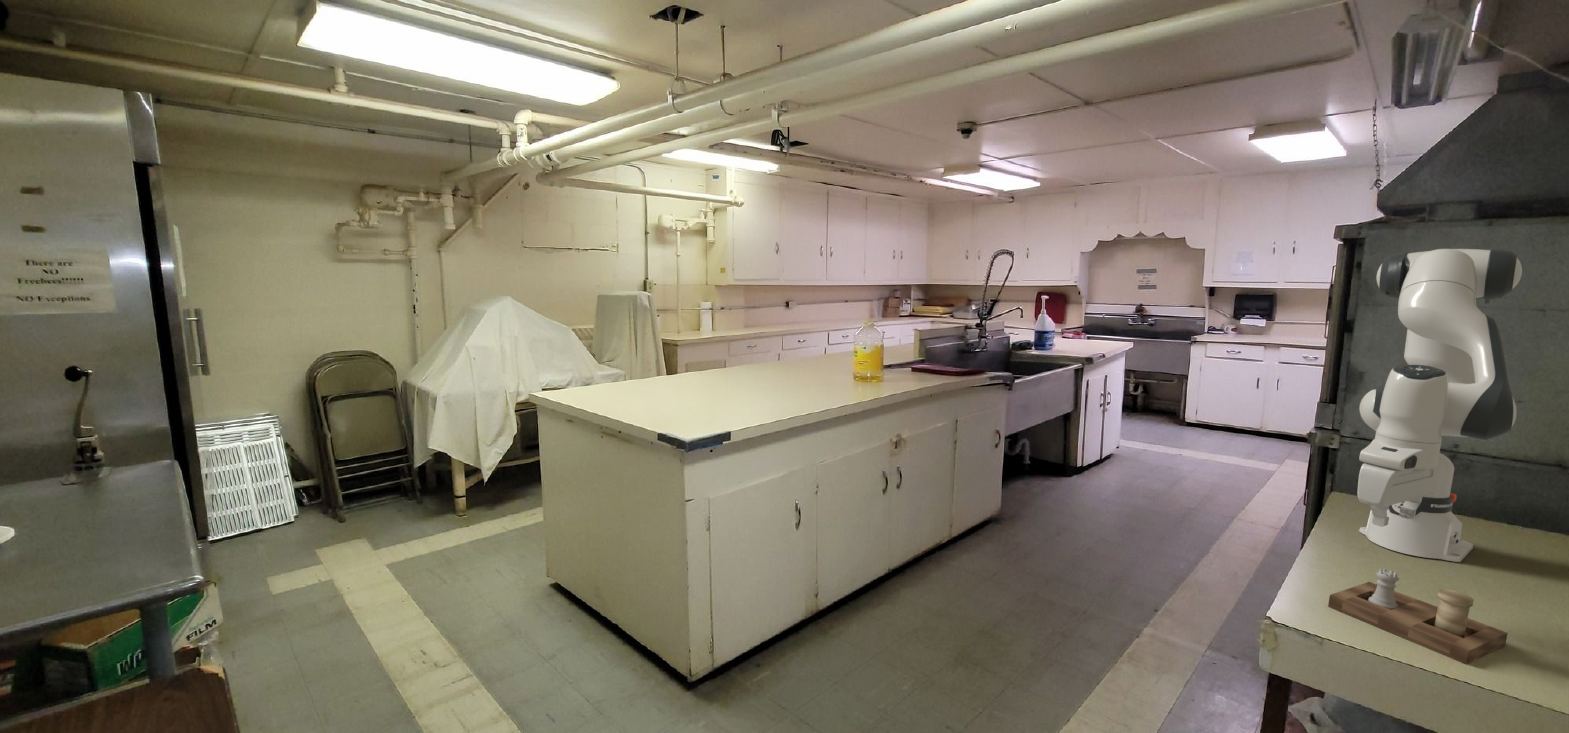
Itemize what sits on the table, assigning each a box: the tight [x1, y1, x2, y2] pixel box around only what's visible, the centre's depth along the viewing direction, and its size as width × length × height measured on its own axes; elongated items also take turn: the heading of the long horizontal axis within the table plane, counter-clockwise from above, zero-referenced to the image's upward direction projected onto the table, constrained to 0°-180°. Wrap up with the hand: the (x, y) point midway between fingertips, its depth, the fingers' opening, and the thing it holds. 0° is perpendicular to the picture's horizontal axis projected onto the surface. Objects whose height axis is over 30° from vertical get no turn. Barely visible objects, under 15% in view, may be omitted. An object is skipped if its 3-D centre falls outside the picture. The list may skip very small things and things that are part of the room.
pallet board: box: [1327, 581, 1509, 665], centre depth 118 cm, size 14×20×9 cm
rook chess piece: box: [1368, 568, 1400, 610], centre depth 122 cm, size 4×4×8 cm
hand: (1393, 521), depth 121 cm, fingers open, 8 cm apart
